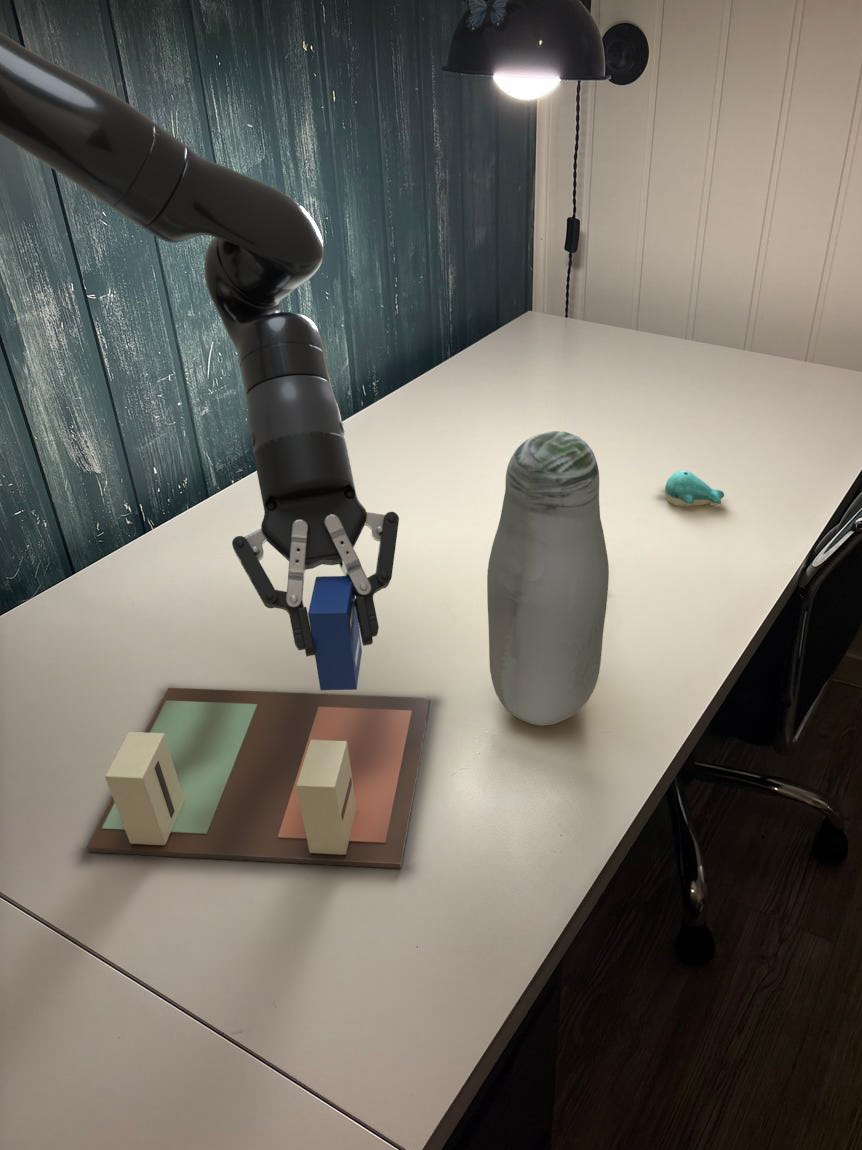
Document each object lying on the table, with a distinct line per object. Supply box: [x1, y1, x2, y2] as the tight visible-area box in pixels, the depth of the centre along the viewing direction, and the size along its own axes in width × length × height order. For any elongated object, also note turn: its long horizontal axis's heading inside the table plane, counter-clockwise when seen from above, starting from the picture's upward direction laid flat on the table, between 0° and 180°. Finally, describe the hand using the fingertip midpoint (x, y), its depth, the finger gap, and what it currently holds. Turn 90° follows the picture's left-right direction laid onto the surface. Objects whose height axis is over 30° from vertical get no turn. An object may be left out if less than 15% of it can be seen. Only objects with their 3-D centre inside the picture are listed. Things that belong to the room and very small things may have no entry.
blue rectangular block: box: [307, 575, 363, 691], centre depth 78 cm, size 3×5×8 cm, turn 1°
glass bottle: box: [486, 430, 610, 726], centre depth 82 cm, size 10×10×28 cm
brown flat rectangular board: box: [86, 687, 431, 869], centre depth 85 cm, size 26×20×1 cm
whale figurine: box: [664, 470, 725, 507], centre depth 120 cm, size 6×7×4 cm
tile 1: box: [104, 731, 184, 845], centre depth 77 cm, size 3×5×8 cm, turn 176°
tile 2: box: [296, 740, 357, 855], centre depth 76 cm, size 3×5×8 cm, turn 175°
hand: (338, 648), depth 76 cm, fingers closed on blue rectangular block, 4 cm apart
